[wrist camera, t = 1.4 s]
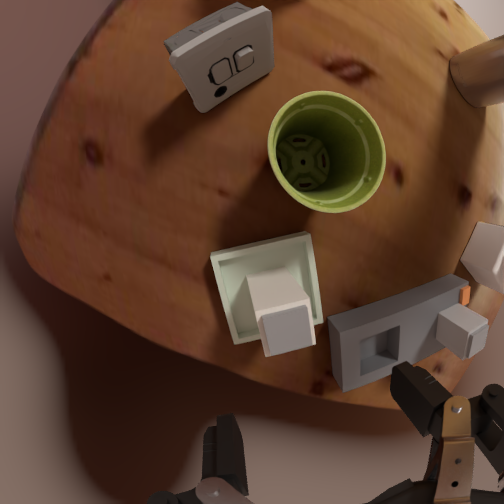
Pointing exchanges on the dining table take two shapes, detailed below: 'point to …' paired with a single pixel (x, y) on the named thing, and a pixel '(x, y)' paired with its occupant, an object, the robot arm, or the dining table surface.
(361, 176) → the plant pot
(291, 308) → the plug
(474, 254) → the medicine bottle
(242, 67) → the electrical switch
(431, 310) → the grey peg socket block
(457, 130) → the dining table surface
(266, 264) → the tray
